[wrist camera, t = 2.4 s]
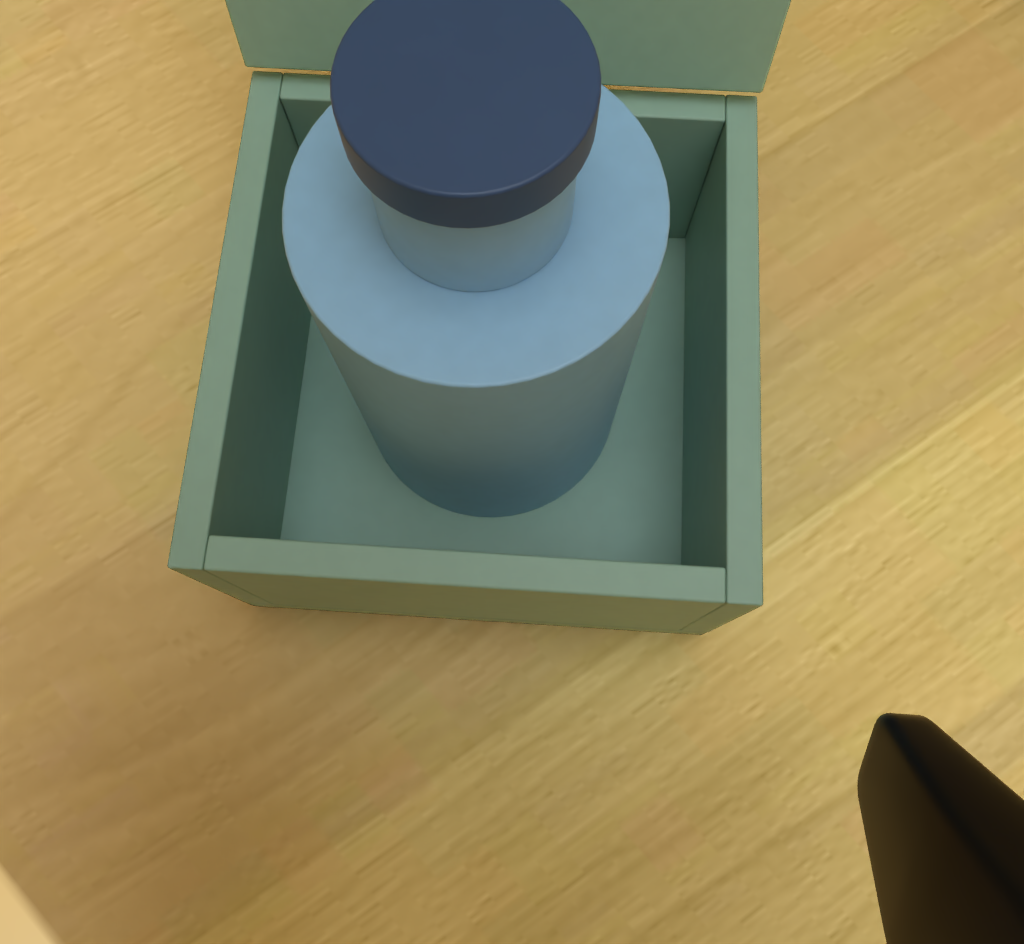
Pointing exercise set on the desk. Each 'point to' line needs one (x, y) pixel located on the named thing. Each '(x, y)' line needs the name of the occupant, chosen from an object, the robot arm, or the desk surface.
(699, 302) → the cooler
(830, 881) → the desk surface
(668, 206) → the bottle
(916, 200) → the desk surface
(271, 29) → the lid
